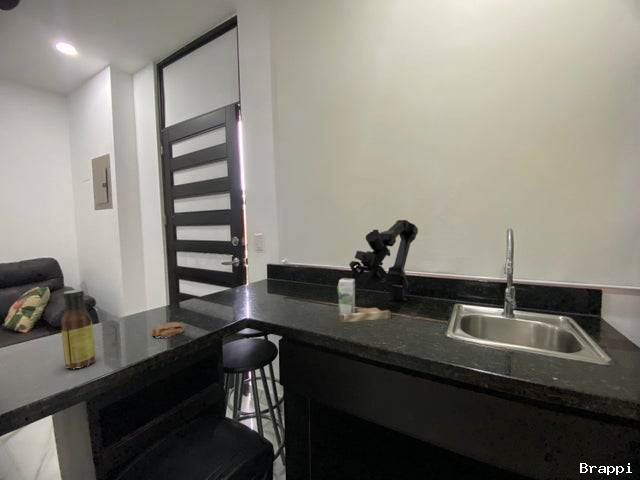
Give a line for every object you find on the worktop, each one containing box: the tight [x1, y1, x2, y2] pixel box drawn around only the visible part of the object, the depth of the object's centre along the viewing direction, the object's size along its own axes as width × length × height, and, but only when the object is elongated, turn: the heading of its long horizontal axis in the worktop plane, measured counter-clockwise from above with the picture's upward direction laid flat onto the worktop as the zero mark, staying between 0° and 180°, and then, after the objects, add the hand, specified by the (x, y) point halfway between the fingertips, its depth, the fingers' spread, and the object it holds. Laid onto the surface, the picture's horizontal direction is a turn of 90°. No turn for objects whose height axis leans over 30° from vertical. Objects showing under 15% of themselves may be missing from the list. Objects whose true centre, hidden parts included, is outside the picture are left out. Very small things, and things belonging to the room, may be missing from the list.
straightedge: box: [338, 309, 391, 324], centre depth 110 cm, size 20×2×3 cm, turn 104°
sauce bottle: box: [60, 289, 96, 368], centre depth 75 cm, size 7×6×20 cm
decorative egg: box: [336, 277, 349, 297], centre depth 142 cm, size 8×8×10 cm
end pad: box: [355, 307, 381, 313], centre depth 117 cm, size 9×9×1 cm
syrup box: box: [338, 278, 356, 315], centre depth 114 cm, size 6×6×14 cm
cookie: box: [151, 321, 185, 337], centre depth 98 cm, size 10×11×3 cm
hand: (355, 285), depth 116 cm, fingers open, 9 cm apart
